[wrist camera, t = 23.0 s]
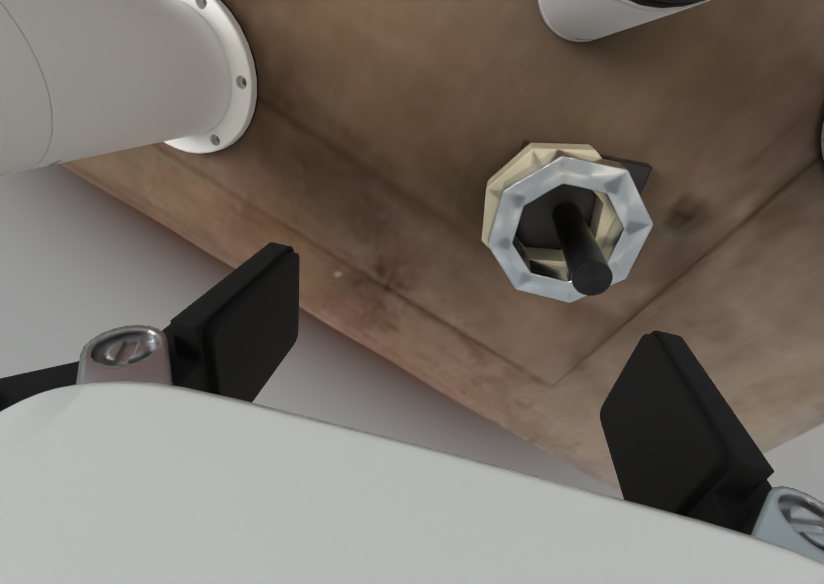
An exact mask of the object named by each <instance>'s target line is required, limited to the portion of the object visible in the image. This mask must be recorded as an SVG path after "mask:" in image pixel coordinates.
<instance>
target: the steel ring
mask: <svg viewBox="0 0 824 584" xmlns="http://www.w3.org/2000/svg"><path fill="white" fill-rule="evenodd" d="M562 184H566V185H571V186H575V187H580V188H585V189H589V190H594V191H598V192H603V194H604V196H605V198H606V200H607V202H608V204H609V206H610V208H611V210H612V212H613V214H614V216H615V219H614V221H613V223H612V225H611V228H610V230H609V232H608V234H607V236H606V239H605V241H604V243H603V245H602V247H601V252H602V254H603V256H604V258H605V260H606V262H607V264H608V266H609V267H610V269H611V271H612V275H613V279H612V283H611V285H613V284H615V283H617V282H620V281H622V280H624V279H626V277H627V276H628V274H629V272H630V270H631V268H632V266H633V264H634V262H635V260H636V258H637V256H638V254H639V252H640V250H641V248H642V246H643V244H644V242H645V240H646V238H647V236H648V234H649V232H650V230H651V228H652V226H653V222H652V219H651V217H650V215H649V213H648V211H647V209H646V207H645V205H644V202H643V200H642V198H641V196H640V194H639V192H638V190H637V188H636V185H635V183H634V181H633V179H632V177H631V175H630V173H629V171H628V170H627V169H626V168H625V167H624V166H622V165H621V164H620V163H619V162H615V161H611V160H606V159H601V158H597V157H592V156H587V155H583V154H578V153H573V152H568V151H564V150H559V149H558V150H556V151H554V152H553V153H551V154H549V155H548V156H546V157H544V158H543V159H541V160H539V161H538V162H536V163H534V164H533V165H531V166H529V167H528V168H526V169H524V170H523V171H521V172H519V173H518V174H516V175H514V176H513V177H511V178H509V179H508V180H506V181H504V183H503V186H502V189H501V193H500V196H499V199H498V203H497V206H496V210H495V213H494V217H493V220H492V224H491V227H490V231H489V236H488V247H489V249H490V250H491V252H492V254H493V255H494V257H495V258H496V260H497V261H498V263H499V265H500V266H501V268H502V269H503V271H504V272H505V274H506V276H507V277H508V279H509V280H510V282H511V284H512V285H513V287H514V288H515V289H516V290H520V291H524V292H528V293H532V294H536V295H541V296H545V297H549V298H553V299H557V300H561V301H565V302H569V303H570V302H573V301H575V300H578V299H580V298H582V297H585V296H587V295H584V294H581V293H579V292H578V291H577V290H576V289H575V288H574V287H573V284H572V281H571V278H570V274H569V271H568V268H567V267H565V268H562V267H558V266H554V265H550V264H546V263H541V262H537V261H533V260H529V258H528V256H527V255H526V253H525V251H524V250H523V248H522V246H521V245H520V243H519V242H518V240H517V238H516V237H515V233H516V230H517V227H518V224H519V221H520V218H521V215H522V212H523V208H524V205H526V204H528V203H530V202H532V201H533V200H535V199H537V198H539V197H540V196H542V195H544V194H546V193H548V192H549V191H551V190H553V189H555V188H556V187H558V186H560V185H562Z"/></svg>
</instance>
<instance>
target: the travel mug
mask: <svg viewBox="0 0 824 584" xmlns="http://www.w3.org/2000/svg"><path fill="white" fill-rule="evenodd" d="M708 1H711V0H538V7H539V10H540V14H541V16H542V18H543V20H544V22H545V24H546V25H547V27H548V28H549V29H550V30H551V31H552V32H553V33H554V34H556V35H557V36H558V37H560V38H562V39H565V40H567V41H572V42H588V41H592V40H596V39H599V38H602V37H605V36H608V35H611V34H614V33H617V32H620V31H623V30H626V29H629V28H632V27H635V26H638V25H641V24H644V23H647V22H650V21H653V20H656V19H659V18H662V17H665V16H668V15H671V14H674V13H677V12H679V11H682V10H685V9H688V8H691V7H694V6H697V5H700V4H703V3H706V2H708Z"/></svg>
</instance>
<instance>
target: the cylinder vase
mask: <svg viewBox="0 0 824 584" xmlns="http://www.w3.org/2000/svg"><path fill="white" fill-rule="evenodd" d="M821 150H822V156H823V160H824V122H823V127H822V134H821Z"/></svg>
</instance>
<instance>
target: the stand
mask: <svg viewBox="0 0 824 584" xmlns="http://www.w3.org/2000/svg"><path fill="white" fill-rule="evenodd" d="M530 143H535V142H530V141H523V144H522V148H521V151H522V150H523V149H524V148H525V147H526V146H528V145H529V144H530ZM600 156H601V157H602V159H606V160H611V161H615V162H619V163H620V164H621V165H622V166H624V167H625V168H626V169H627V170H628V171H629V173H630V175H631V177H632V179H633V181H634V183H635V185H636V188H637V190H638V192H639V194H641V192H642V190H643V188H644V185H645V183H646V181H647V179H648V176H649V174H650V172H651V170H652V167H651V166H650V165H648V164H647V163H641V162H636V161H631V160H625V159H620V158H615V157H609V156H604V155H600ZM596 197H597V195H596V194H595V193H594V191H593V190H589V189H585V188H580V187H575V186H571V185H566V184H562V185H560V186H558V187H556V188H555V189H553V190H551V191H549V192H548V193H546V194H544V195H542V196H540V197H539V198H537V199H535V200H533V201H532V202H530V203H528V204H526V205H524V208H523V212H522V215H521V218H520V221H519V224H518V227H517V230H516V233H515V236H516V237H517V238H518V240H519V241H520V242H521V243H522V244H523V245H524V246H525V247H530V248H544V249H558V250H560V249H561V248H562V251H563V255H564V258H565V261H566V265H567V268H568V271H569V274H570V278H571V281H572V284H573V287H574V288H575V289H576V290H577V291H578V292H579V293H581V294H584V295H590V296H591V295H597V294H600V293H602V292H604V291H605V290H607V289H608V288H609V286H610V285H611V283H612V279H613V275H612V271H611V269H610V267H609V266H608V264H607V262H606V260H605V258H604V256H603V254H602V252H601V250H600V248H599V246H598V244H597V242H596V241H595V239H594V237H593V235H592V233H591V231H590V229H589V228H590V224H591V219H592V215H593V210H594V206H595V201H596Z"/></svg>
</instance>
